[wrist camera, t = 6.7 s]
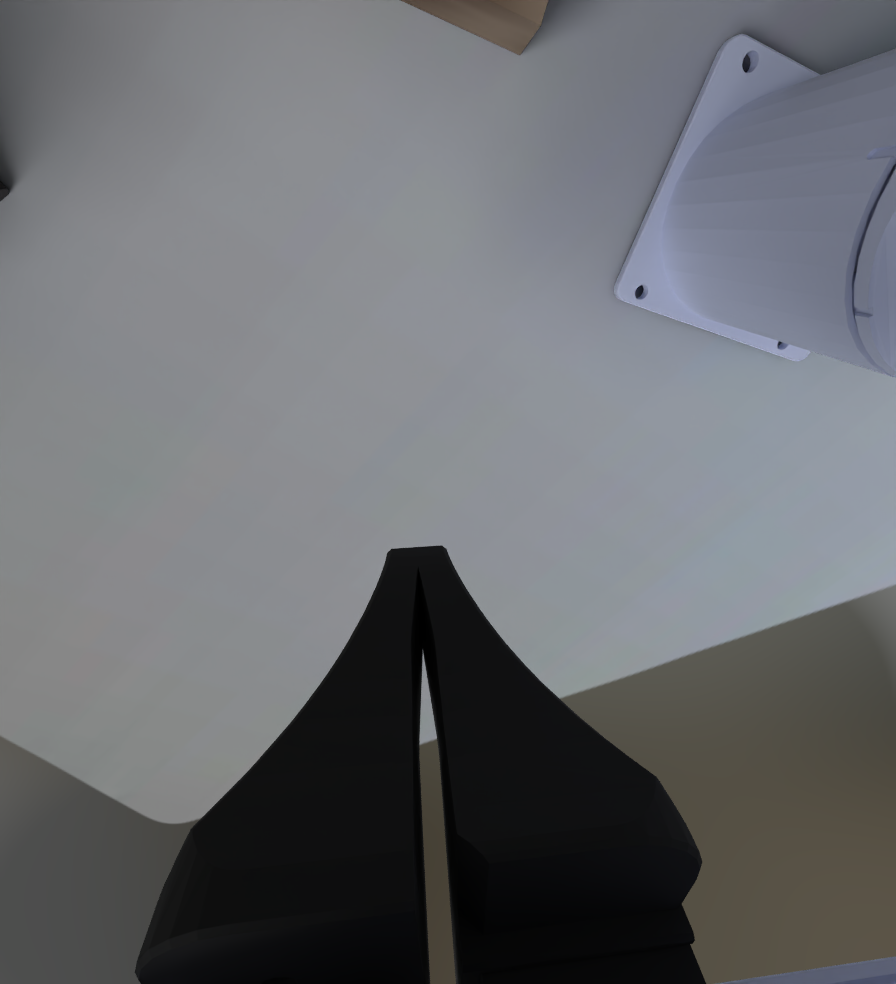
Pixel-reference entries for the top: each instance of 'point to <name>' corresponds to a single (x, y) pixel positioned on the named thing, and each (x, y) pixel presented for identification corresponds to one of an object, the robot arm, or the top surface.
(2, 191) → the phone stand
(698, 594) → the top surface
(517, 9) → the button board
